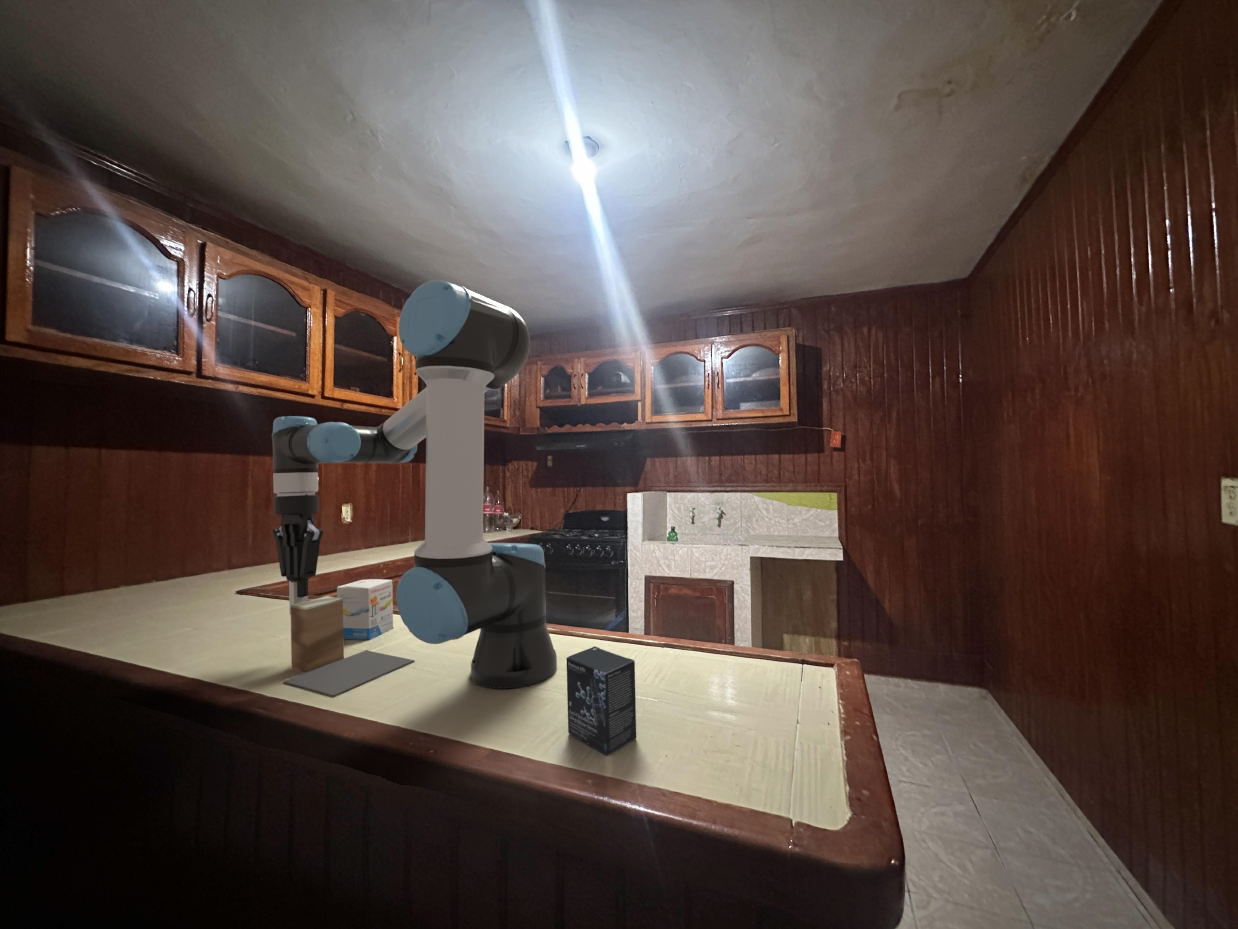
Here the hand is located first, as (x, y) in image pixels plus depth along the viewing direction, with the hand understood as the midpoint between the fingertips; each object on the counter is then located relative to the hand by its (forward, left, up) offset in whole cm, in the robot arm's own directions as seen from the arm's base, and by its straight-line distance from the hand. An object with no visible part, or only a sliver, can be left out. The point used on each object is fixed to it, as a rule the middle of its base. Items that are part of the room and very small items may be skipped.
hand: (299, 612), depth 97 cm
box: (-69, +1, -9) cm, 70 cm away
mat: (-16, 0, -9) cm, 18 cm away
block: (-6, 0, -9) cm, 11 cm away
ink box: (+2, -16, -10) cm, 19 cm away
